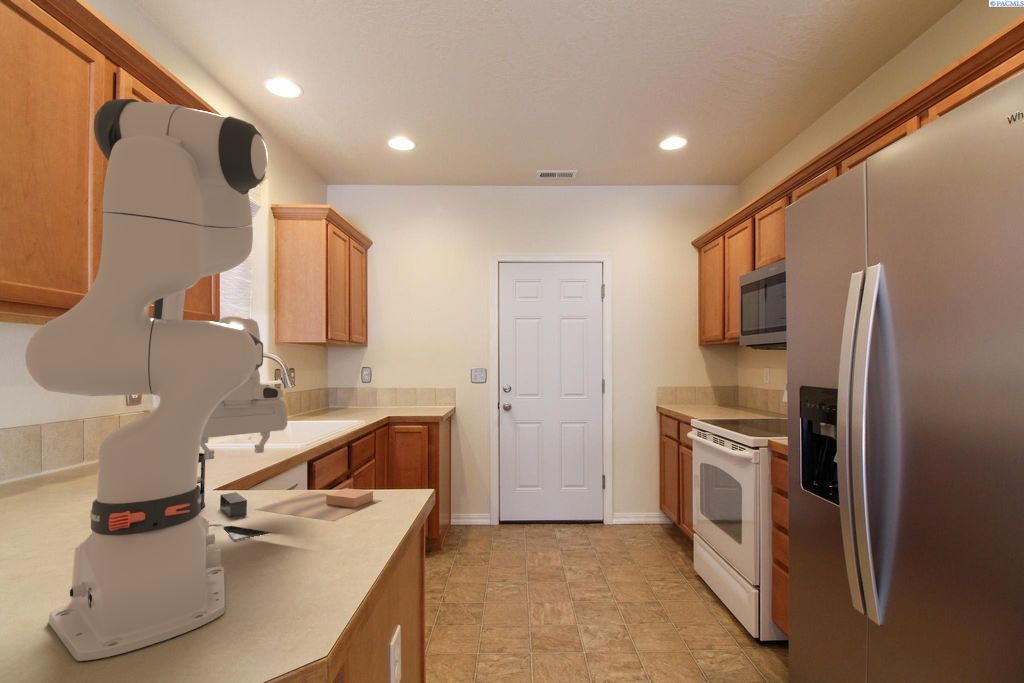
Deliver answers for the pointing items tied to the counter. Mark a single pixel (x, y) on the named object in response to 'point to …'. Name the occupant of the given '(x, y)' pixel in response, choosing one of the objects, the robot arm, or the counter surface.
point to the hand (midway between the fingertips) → (235, 455)
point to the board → (313, 507)
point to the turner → (237, 516)
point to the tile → (349, 497)
